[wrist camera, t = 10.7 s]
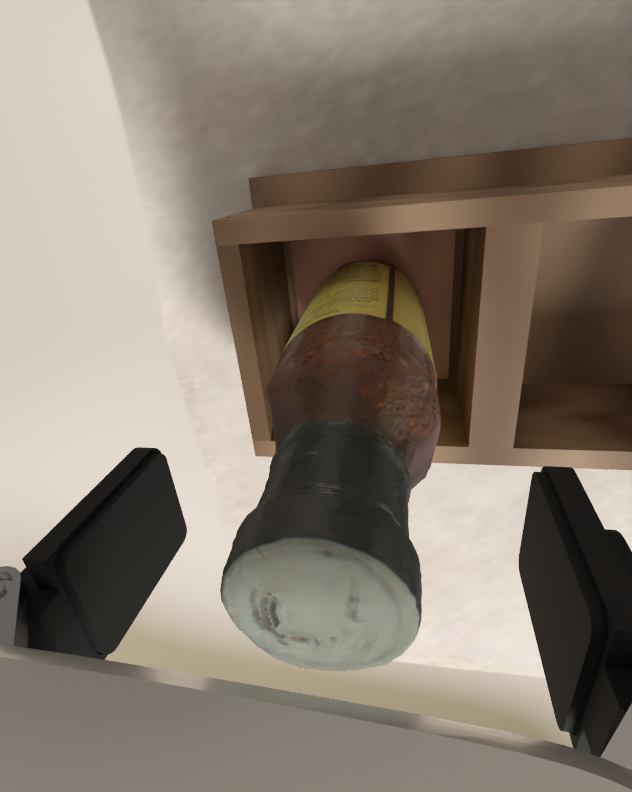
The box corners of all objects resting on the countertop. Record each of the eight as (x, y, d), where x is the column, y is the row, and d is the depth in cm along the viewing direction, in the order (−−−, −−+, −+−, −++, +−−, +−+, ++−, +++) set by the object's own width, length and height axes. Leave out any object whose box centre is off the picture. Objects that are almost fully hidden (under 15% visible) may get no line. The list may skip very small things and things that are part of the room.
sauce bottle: (300, 329, 27) (106, 618, 10) (345, 234, 24) (178, 412, 7) (393, 377, 27) (364, 739, 10) (450, 289, 24) (546, 596, 7)
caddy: (781, 122, 20) (991, 98, 12) (684, 412, 26) (785, 503, 19) (255, 177, 25) (193, 183, 18) (287, 407, 32) (251, 477, 25)
